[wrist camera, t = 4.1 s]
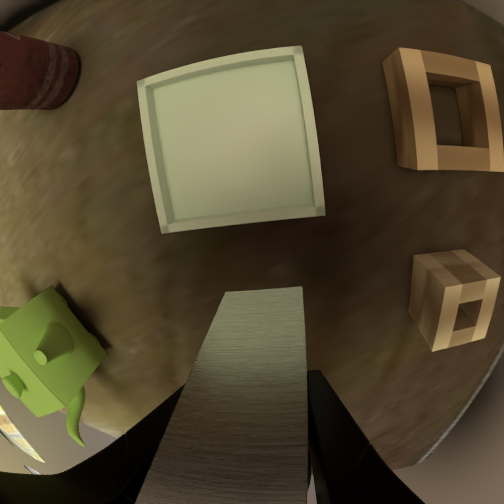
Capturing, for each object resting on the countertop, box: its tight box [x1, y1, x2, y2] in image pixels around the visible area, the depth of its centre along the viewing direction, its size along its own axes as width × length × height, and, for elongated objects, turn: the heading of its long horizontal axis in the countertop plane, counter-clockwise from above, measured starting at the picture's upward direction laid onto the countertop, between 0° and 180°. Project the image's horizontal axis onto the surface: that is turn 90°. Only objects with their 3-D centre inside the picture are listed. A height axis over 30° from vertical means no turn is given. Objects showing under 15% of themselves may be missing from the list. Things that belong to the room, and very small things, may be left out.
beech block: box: [408, 249, 500, 351], centre depth 17 cm, size 5×5×6 cm
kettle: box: [0, 285, 108, 447], centre depth 22 cm, size 15×14×11 cm
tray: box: [137, 46, 325, 234], centre depth 17 cm, size 11×11×2 cm
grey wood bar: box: [135, 286, 308, 504], centre depth 7 cm, size 3×3×9 cm
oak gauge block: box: [382, 48, 504, 172], centre depth 14 cm, size 8×8×4 cm
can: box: [0, 31, 79, 110], centre depth 11 cm, size 6×6×14 cm
